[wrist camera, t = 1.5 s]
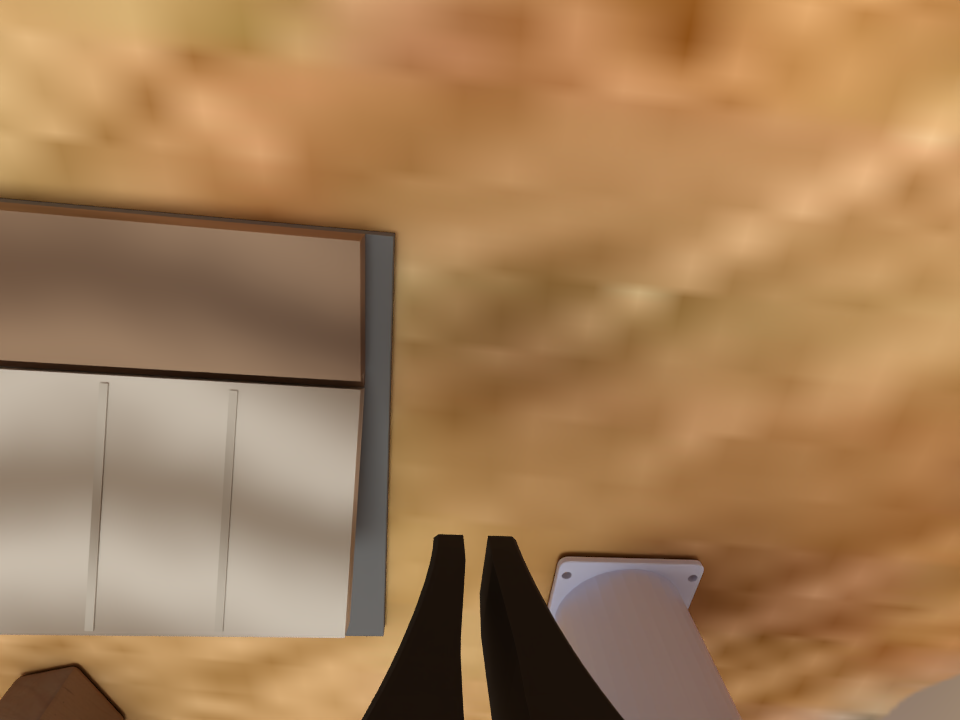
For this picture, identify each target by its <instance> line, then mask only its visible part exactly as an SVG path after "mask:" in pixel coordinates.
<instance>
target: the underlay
mask: <svg viewBox="0 0 960 720" xmlns="http://www.w3.org/2000/svg"><path fill="white" fill-rule="evenodd" d="M0 202H7V203H18V204H29V205H41V206H52V207H64V208H75V209H86V210H98V211H109V212H121V213H132V214H143V215H155V216H166V217H177V218H189V219H200V220H212V221H223V222H234V223H246V224H257V225H268V226H280V227H291V228H303V229H314V230H325V231H337V232H348V233H359V234H365V385H364V387H361V388H365V391H364V407H363V423H362V438H361V454H360V470H359V485H358V501H357V517H356V532H355V548H354V564H353V579H352V595H351V611H350V622H349V625H348V629H347V632H346V635H345V636H383V635H384V627H385V592H386V553H387V515H388V477H389V439H390V400H391V362H392V324H393V286H394V247H395V233H388V232H377V231H365V230H354V229H343V228H332V227H320V226H309V225H298V224H286V223H275V222H264V221H252V220H241V219H230V218H219V217H207V216H196V215H185V214H173V213H162V212H151V211H140V210H128V209H117V208H106V207H94V206H83V205H72V204H61V203H49V202H38V201H27V200H15V199H4V198H0ZM0 367H7V366H0ZM17 368H24V367H17ZM34 369H41V368H34ZM51 370H58V369H51ZM68 371H75V370H68ZM86 372H93V371H86ZM103 373H110V372H103ZM120 374H127V373H120ZM137 375H144V374H137ZM155 376H161V375H155ZM172 377H179V376H172ZM189 378H196V377H189ZM206 379H213V378H206ZM223 380H230V379H223ZM241 381H247V380H241ZM258 382H265V381H258ZM275 383H282V382H275ZM292 384H299V383H292ZM310 385H316V384H310ZM327 386H333V385H327ZM344 387H351V386H344Z"/></svg>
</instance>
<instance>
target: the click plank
mask: <svg viewBox="0 0 960 720" xmlns="http://www.w3.org/2000/svg"><path fill="white" fill-rule="evenodd" d="M364 391H365V388H361V387H344V386H327V385H310V384H292V383H275V382H258V381H241V380H223V379H206V378H189V377H172V376H155V375H137V374H120V373H103V372H86V371H68V370H51V369H34V368H17V367H0V635H103V636H209V637H314V638H345V635H346V632H347V629H348V625H349V622H350V611H351V595H352V579H353V564H354V548H355V532H356V517H357V501H358V485H359V470H360V454H361V438H362V423H363V407H364Z"/></svg>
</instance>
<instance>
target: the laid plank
mask: <svg viewBox="0 0 960 720" xmlns="http://www.w3.org/2000/svg"><path fill="white" fill-rule="evenodd" d="M0 366H7V367H24V368H41V369H58V370H75V371H93V372H110V373H127V374H144V375H161V376H179V377H196V378H213V379H230V380H247V381H265V382H282V383H299V384H316V385H333V386H351V387H364V385H365V234H359V233H348V232H337V231H325V230H314V229H303V228H291V227H280V226H268V225H257V224H246V223H234V222H223V221H212V220H200V219H189V218H177V217H166V216H155V215H143V214H132V213H121V212H109V211H98V210H86V209H75V208H64V207H52V206H41V205H29V204H18V203H7V202H0Z"/></svg>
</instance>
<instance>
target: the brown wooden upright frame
mask: <svg viewBox="0 0 960 720" xmlns="http://www.w3.org/2000/svg"><path fill="white" fill-rule="evenodd" d="M0 720H124V719H123V716H122V715H121V714H120V713H119V712H118V711H117V710H116V709H115V708H114V707H113V706H112V704H111V703H110V702H109V701H108V700H107V699H106V698H105V697H104V696H103V695H102V694H101V693H100V691H99V690H98V689H97V688H96V687H95V686H94V685H93V684H92V683H91V682H90V681H89V679H88V678H87V677H86V676H85V675H84V674H83V673H82V672H81V671H80V670H79V669H78V668H77V667H73V666H72V667H67V668H62V669H56V670H51V671H46V672H41V673H36V674H31V675H26V676H21V677H20V678H18V679H17V680H16V681H15V682H14V683H13V684H12V686H11V687H10V688H9V690H8V691H7V692H6V693H5V695H4V696H3V697H2V699H1V700H0Z"/></svg>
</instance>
